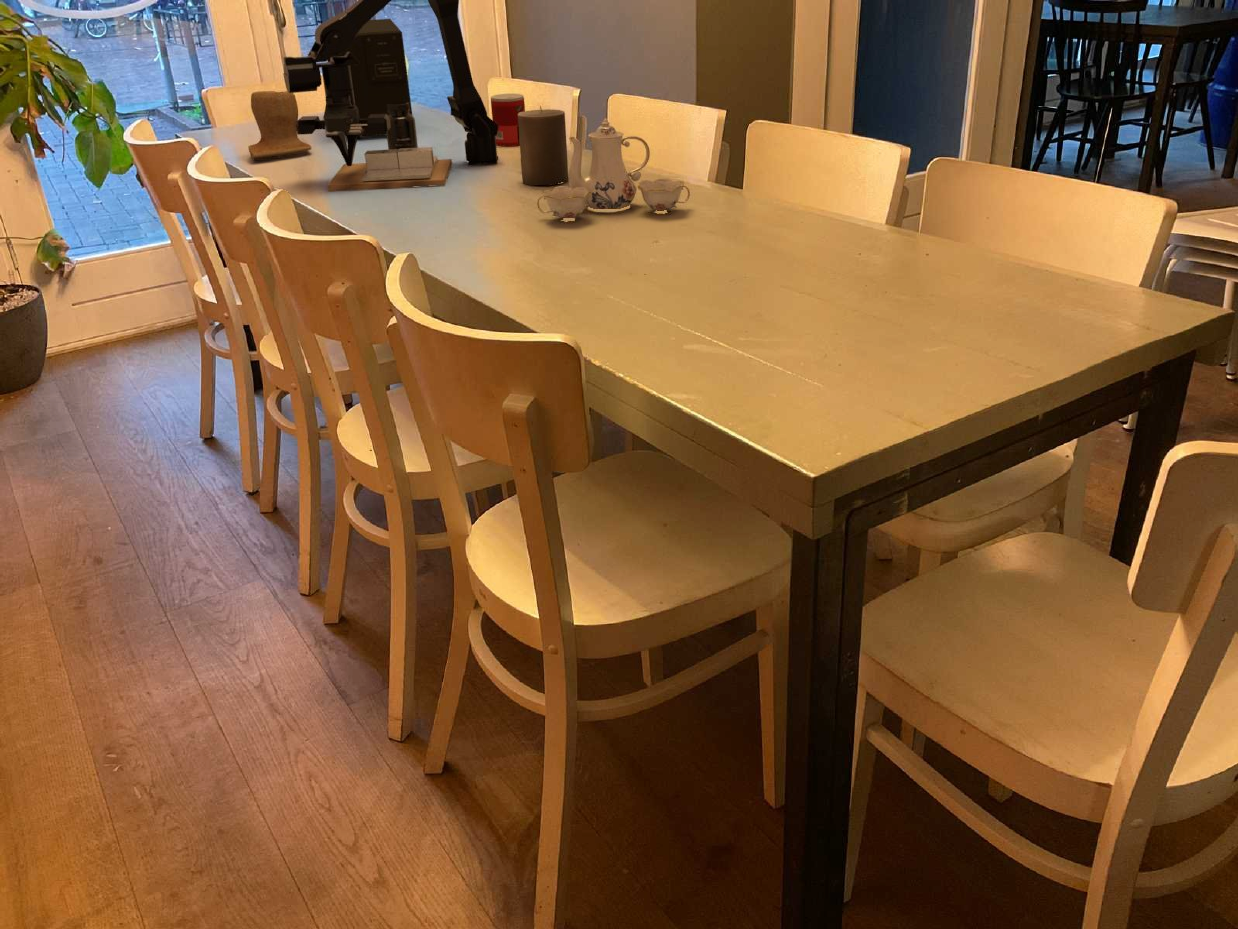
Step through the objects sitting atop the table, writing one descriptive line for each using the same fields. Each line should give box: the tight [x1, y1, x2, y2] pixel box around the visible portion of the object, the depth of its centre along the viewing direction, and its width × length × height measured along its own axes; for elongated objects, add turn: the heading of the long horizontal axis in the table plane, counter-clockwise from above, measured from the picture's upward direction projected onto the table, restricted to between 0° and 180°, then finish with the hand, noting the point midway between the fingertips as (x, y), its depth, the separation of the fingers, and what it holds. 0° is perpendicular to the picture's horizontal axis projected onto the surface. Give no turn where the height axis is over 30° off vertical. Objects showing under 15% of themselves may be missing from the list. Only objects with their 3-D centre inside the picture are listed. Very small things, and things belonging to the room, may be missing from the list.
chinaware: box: [536, 118, 691, 219], centre depth 186 cm, size 28×17×17 cm, turn 106°
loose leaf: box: [362, 149, 433, 181], centre depth 215 cm, size 14×11×4 cm
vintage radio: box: [327, 18, 413, 140], centre depth 267 cm, size 38×20×25 cm, turn 15°
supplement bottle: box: [386, 102, 419, 150], centre depth 235 cm, size 7×7×12 cm
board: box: [327, 158, 453, 192], centre depth 220 cm, size 24×20×1 cm
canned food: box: [490, 93, 526, 147], centre depth 245 cm, size 8×8×11 cm
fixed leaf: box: [398, 146, 439, 171], centre depth 221 cm, size 14×11×4 cm
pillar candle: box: [518, 106, 569, 186], centre depth 209 cm, size 10×10×15 cm
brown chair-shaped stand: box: [247, 90, 313, 161], centre depth 240 cm, size 15×12×15 cm
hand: (349, 165), depth 218 cm, fingers closed
